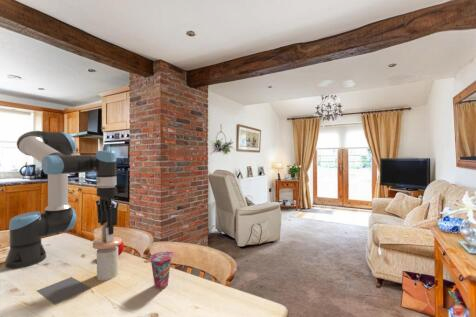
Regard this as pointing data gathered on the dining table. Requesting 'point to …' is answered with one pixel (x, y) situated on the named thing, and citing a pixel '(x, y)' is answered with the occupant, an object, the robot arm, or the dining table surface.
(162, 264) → the cup
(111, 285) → the dining table surface
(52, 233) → the robot arm
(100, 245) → the lid
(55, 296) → the mat
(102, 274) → the white round pillar
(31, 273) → the dining table surface
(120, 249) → the ornament
